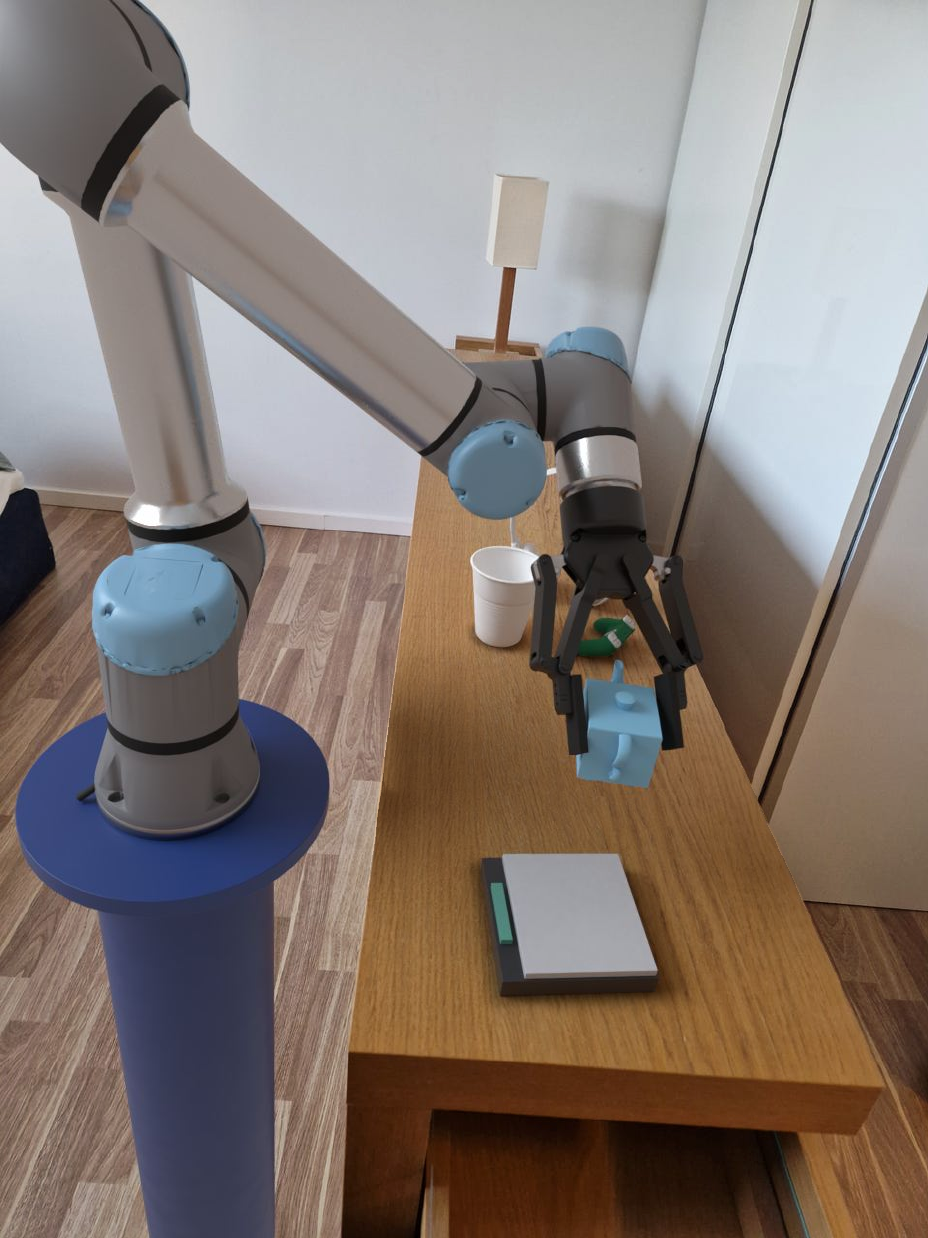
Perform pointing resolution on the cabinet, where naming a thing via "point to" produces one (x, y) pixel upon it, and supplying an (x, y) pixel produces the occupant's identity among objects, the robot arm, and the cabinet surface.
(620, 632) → the green christmas socks
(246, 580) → the robot arm
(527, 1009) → the cabinet surface
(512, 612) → the cup
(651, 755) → the teapot
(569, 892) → the scale
